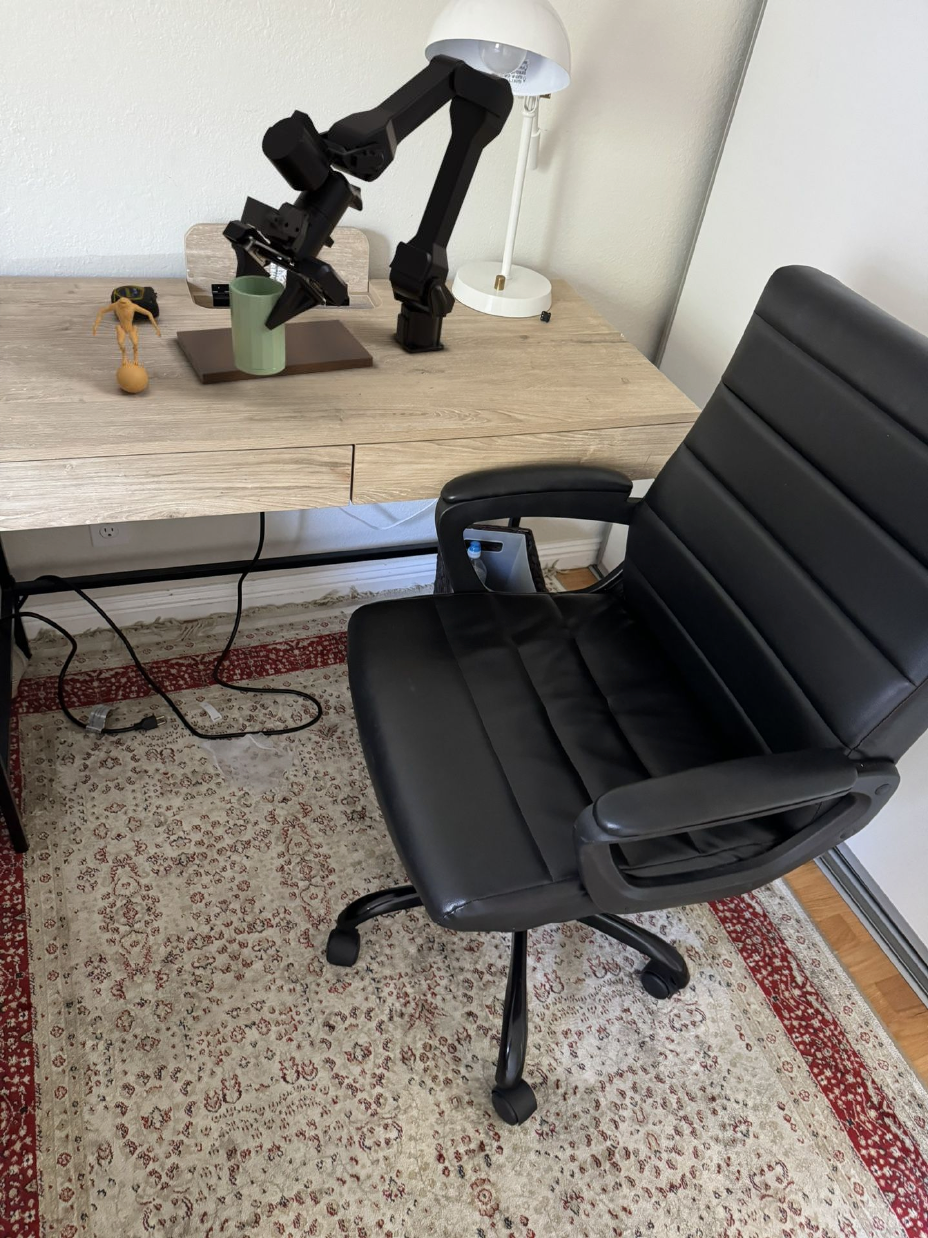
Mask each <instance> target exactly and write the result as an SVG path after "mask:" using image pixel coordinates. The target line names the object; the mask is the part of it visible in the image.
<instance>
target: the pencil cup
mask: <svg viewBox="0 0 928 1238" xmlns="http://www.w3.org/2000/svg"><path fill="white" fill-rule="evenodd" d="M284 289H285V285H284V284H283V283H282V282H281V281H279V280H278V279H277V280H276V279H275V278H272V277H269V278H268V277H264V276H242V277H238V278H235V277H234V278H233V279H232V280H230V281H229V283H228V291H229V292H228V295H229V304H230V305H229V307H230V323H231V328H232V343H233V358H234V364H235V366H236V367H237V368H238V369H239V370H241V371H243V372H246V373H249V374H254V375H270V374H275V373H278V372H280V371H282V370H283V369H284V368H285V365H286V364H285V359H286V345H285V323H286V322H285V323H283V324H281V325H280V326H278V327H276V328H275V329H273V330H269V329H268V328H267V327H266V326H265V323H266V321H267V319H268V317H269V315H270V313H271V311H272V309H273V308H274V306H275V304H276V303H277V301H278V299H279V297H280V296H281V294H282V292H283V291H284Z"/></svg>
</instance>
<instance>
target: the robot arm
mask: <svg viewBox="0 0 928 1238" xmlns="http://www.w3.org/2000/svg"><path fill="white" fill-rule="evenodd" d="M449 102H450V103H449ZM514 102H515V97H514V93H513V87H512V85H511V83H510V81H509V80H508V79H507V78H505V77H503V76H498V75H496V74H492V73H489V72H486V71H482V70H480V69H476V68H474V67H473V66H471V65H469V64H468V63H467V62H466V61H465V60H464V59H460V58H457V57H453V56H450V55H448V54H444V53H440V54H436V55H434V56H432V58H430V60H429V62H428V64H427V66H425V67H424V68H423V69H421V70H420V71H419V72H418V73H416V74H415V75H414V76H413V77H412V78H410V79H408V81H407V82H406V83H403V84H402V86H401V87H399V88H398V89H397V90H396V91H394V92H393V93H391V94H390V95H389V96H388V97H387V98H385V99H384V100H383V101H382V102H380V103H379V104H378V105H377V106H375V107H374V108H371V109H367V110H363V111H359V112H358V111H357V112H354V113H351V114H349V115H346V116H345V117H343V118H341V119H339V120H337V121H335V122H333V124H332V125H331V126H330V127H329V128H328V130H325V131H322V132H319V131H318V130H317V128H316V125H315V123H314V121H313V120H312V118H311V117H310V115H309V114H308V113H306V112H304V111H302V110H299V109H295V110H294V111H293V113H292V114H291V116H289V117H284V118H282V119H280V120H278V121H277V122H275V123H274V124H273V125H271V126H269V127H268V128H267V129H266V130H265V133H264V135H263V138H262V140H261V150H262V153H263V154H264V156H265V158H267V160H268V161H269V162H270V163H271V165H272V166H273V167H274V168H275V169H276V171H277V172H278V174H279V175H280V176H281V177H282V178H283V180H284V181H285V182H286V183H287V184H288V186H289V187H290V188H291V189H292V190H293V191H295V192H300V193H299V194H298V196H297V197H296V199H295V201H294V202H293V203H291V202H288V201H285V202H283V203H282V204H281V205H280V207H279V208H278V209H277V208H275V207H273V206H271V205H269V204H267V203H265V202H262V201H260V200H258V199H256V198H254V197H251V196H249V195H247V196H246V200H245V203H244V207H243V210H242V213H241V217H240V220H239V219H233V220H229V222H228V224H227V225H226V226H225V227H224V229H223V231H222V234H221V235H222V236H223V237H224V239H226V241H228V242H229V243H230V245H231V249H232V250H233V251H234V252H235V258H236V262H237V263H236V272H235V277H234V279H235V278H238V277H242V276H264V277H268V278H271V277H272V274H270V272H269V271H268V270H267V269H266V268H265V267H268V266H270V265H271V264H273V265H276V266H277V267H280V268H282V269H283V270H286V271H285V273H286V274H285V285H284V287H285V289H284V291H283V292H282V294H281V296H280V297H279V299H278V301H277V303H276V304H275V306H274V308H273V309H272V311H271V313H270V315H269V317H268V319H267V321H266V323H265V326H266V327H267V328H268V329H269V330H273V329H275V328H276V327H278V326H280V325H281V324H283V323H288V321H290V320H292V319H293V318H296V317H297V316H299V315H300V314H301V315H302V314H303V313H305V312H308V311H309V310H311V309H314V308H315V307H316V308H317V307H318V306H322V307H324V306H325V305H326V304H327V302H328V303H330V304H333V305H334V306H336V307H337V308H340V307H341V306H342V304H343V302H344V301H345V299H346V298H347V296H348V284H347V283H346V282H345V280H344V279H343V278H342V277H341V276H340V274H338V271H336V270H335V269H334V267H333V266H332V265H331V264H330V263H328V262H326V261H324V260H322V259H319V258H317V257H318V256H319V254H320V253H321V251H322V249H323V248H324V247H327V248H329V249H331V248H332V247H333V246H334V243H335V240H334V239H333V237H332V236H331V235H332V234H333V232H334V231H335V229H336V227H337V226H338V225H339V222H340V221H341V220H342V218H343V216H345V214H346V212H347V210H348V209H349V208H350V209H353V210H355V211H358V212H362V211H363V209H364V204H363V199H362V188H361V186H357V185H355V184H353V183H350V181H349V180H348V179H347V177H346V175H348V176H352V177H354V178H356V179H359V180H361V181H363V182H366V183H373V182H374V181H376V180H378V179H379V178H380V177H381V175H382V174H384V172H385V171H386V170H387V169H388V168H389V166H390V165H391V164H392V162H394V161H395V157H396V153H397V149H398V146H399V145H400V144H401V143H402V142H403V140H405V139H406V138H407V137H408V136H410V134H412V133H413V132H414V131H416V130H417V129H418V128H419V127H420V126H422V125H423V124H424V123H425V122H426V121H428V120H429V119H430V118H431V117H432V116H434V115H435V114H436V113H437V112H438V111H439V110H441V109H442V108H443V107H445V105H447V104H448V103H449V109H448V113H449V121H450V129H451V130H450V132H451V134H450V138H449V141H448V142H447V146H446V149H445V152H444V155H443V157H442V160H441V163H440V165H439V169H438V171H437V175H436V177H435V180H434V183H433V185H432V188H431V191H430V194H429V197H428V200H427V202H426V205H425V208H424V211H423V213H422V217H421V218H420V219H421V220H420V222H419V224H418V227H417V230H416V233H415V235H414V236H413V237H412V238H411V239H409V240H408V241H407V242H404V241H402V240H400V241H399V242H398V243H397V244H396V248H395V252H394V256H393V258H392V260H391V262H390V264H389V265H388V267H389V269H390V270H389V274H388V281H389V282H390V286H391V289H392V294H393V299H394V300H395V301H398V302H400V312H399V313H398V314H397V317H396V318H397V319H396V329H395V330H396V331H395V333H393V338H395V339H396V341H398V342H399V343H400V344H401V346H403V348H404V349H406V351H407V352H409V353H420V352H421V353H422V352H430V351H441V350H445V345H444V344H443V343H442V342H441V339H442V338H441V336H442V329H443V328H442V327H443V322H444V318H447V315H448V314H451V313H452V311H453V308H454V306H455V303H456V298H455V297H454V295H453V293H452V292H451V291H450V289H449V288H448V287H447V285H446V283H447V279H448V275H449V270H450V268H449V261H448V260H449V259H448V253H447V248H448V245H449V242H450V239H451V237H452V234H453V231H454V229H455V225H456V223H457V221H458V218H459V216H460V212H461V210H462V207H463V204H464V201H465V199H466V196H467V194H468V191H469V188H470V185H471V183H472V181H473V177H474V174H475V172H476V169H477V166H478V164H479V161H480V158H481V157H482V153H483V151H484V149H485V148H486V147H488V145H490V144H491V143H492V142H493V141H494V140H495V139H496V138H497V137H499V135H500V134H501V133H502V131H503V129H504V127H505V125H506V123H507V121H508V118H509V116H510V115H511V112H512V110H513V108H514V107H513V106H514ZM334 169H335V170H334ZM344 174H346V175H344ZM326 301H327V302H326ZM228 305H229V306H230V303H229V304H228Z"/></svg>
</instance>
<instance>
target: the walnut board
mask: <svg viewBox="0 0 928 1238" xmlns="http://www.w3.org/2000/svg"><path fill="white" fill-rule="evenodd" d="M176 339H177V340H176V341H177V342H178V344H179V346H180V348H181V350H182V351H183V352H184V354H185V356H186V358H187V359H188V361H189V362H190V364H191V366H192V368H193V370H194V371H195V373H196V374H197V376H198V378H199V379H200V381H201V382H202V384H203V385H205V384H213V383H214V384H215V383H222V382H224V383H225V382H232V381H242V380H243V381H244V380H253V379H263V378H271V377H280V376H290V375H291V376H292V375H301V374H310V373H319V372H329V371H338V370H347V369H357V368H366V367H367V368H369V367H373V362H374V357H373V355H372V354H371V353H370V352H369V351H368V350H367V349H366V347H364V346H363V344H362V343H361V342H360V341H359V339H357V338H356V336H354V334H352V332H351V331H350V330H349V329H348V328H347V327H346V326H345V325H344V324H343V323H342V322H341V320H340V319H327V320H314V321H299V322H285V345H286V359H285V364H286V365H285V368H284V369H283V370H282V371H280V372H278V373H275V374H270V375H254V374H249V373H246V372H243V371H241V370H239V369H238V368H237V367H236V366H235V364H234V358H233V343H232V327H221V328H220V327H219V328H207V329H193V330H181V331H180V330H179V331H176Z"/></svg>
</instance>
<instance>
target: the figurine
mask: <svg viewBox="0 0 928 1238" xmlns="http://www.w3.org/2000/svg"><path fill="white" fill-rule="evenodd" d="M114 310H115V311H116V313H115V315H116V316H117V317H118V320H119V322H120V324H116V325H115V331H116V341H117V345H118V347H119V350H120V351H121V356H122V362H121V365H119V366H118V368H117V370H116V373H115V378H116V381H117V384H118V385H119V387H120V388H121V389H122V390H124V391H126V392H128V393H131V394H137V393H140V392H142V391H143V390H145V389H146V387H147V385H148V384H149V383H148V382H149V375H148V372H147V370H146V369H145V368H144V366H142V365H141V364H140V363H139V358H138V357H139V356H138V350H139V346H138V344H139V335H138V334H139V327H138V326H137V325H133V321H134V320H133V316H134V312H135V311H137V312H140V313H143V314H145V315H148V316H149V318H150V319H149V320H150V322H151V324H152V326H153V328H154V329H155V330H156V331H155V335H157V338H158V339H160V338H162V333H161V331H160V328H159V327H158V324H157V322H156V321H155V318H154V319H153V316H152V314H151V313H150V312H149V311H147V310H145V309H143V308H141V307H139V306H138V305H136V304H133V303H132V302H131V301H130V300H129V299H127V298H123V297H121V298H120V299H119V300H118V301H117V302H116V303H112V304H111V303H110V304H109V305H107V306H105V307H103V308H101V309H100V310H99V311H98V313H97V317H96V319H95V321H94V325H93V327H92V335H93V336H94V337H96V335H97V333H98V330H97V327H98V326H99V324H100V322H101V319H102V317H103V314H107V313H110V312H112V311H114ZM126 334H128V338H129V340H130V341H131V343H132V345H133V346H132V350H133V360H132V361H128V358H127V351H126V346H125V345H124V342H125V341H126Z"/></svg>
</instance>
